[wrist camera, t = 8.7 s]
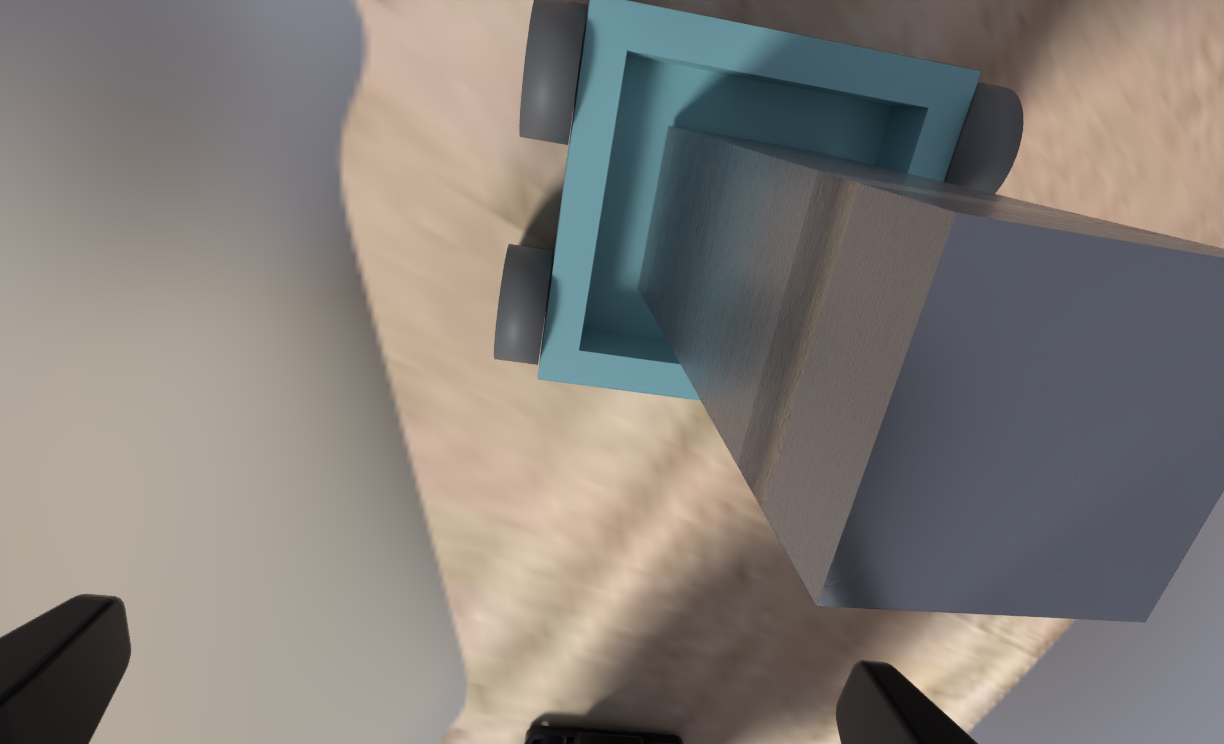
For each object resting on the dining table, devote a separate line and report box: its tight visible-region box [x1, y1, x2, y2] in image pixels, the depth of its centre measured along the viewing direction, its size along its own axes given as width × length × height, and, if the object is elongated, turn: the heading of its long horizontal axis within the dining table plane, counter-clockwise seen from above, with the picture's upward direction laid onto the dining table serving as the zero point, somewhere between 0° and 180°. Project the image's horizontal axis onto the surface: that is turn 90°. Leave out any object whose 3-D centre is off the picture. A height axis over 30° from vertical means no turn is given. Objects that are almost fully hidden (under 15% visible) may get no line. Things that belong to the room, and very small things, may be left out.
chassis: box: [494, 0, 1023, 400], centre depth 18 cm, size 10×12×3 cm
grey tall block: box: [638, 126, 1224, 622], centre depth 13 cm, size 4×4×13 cm
